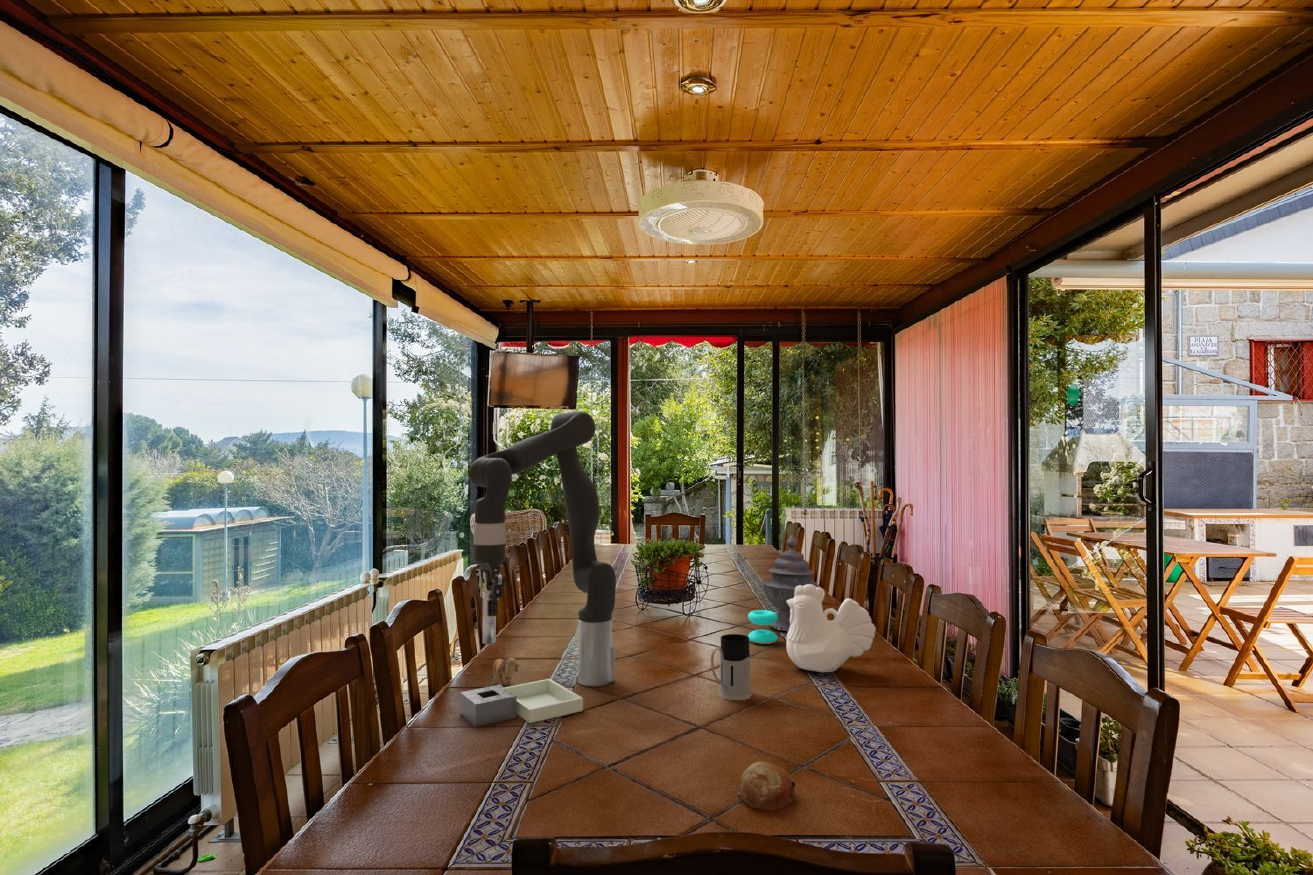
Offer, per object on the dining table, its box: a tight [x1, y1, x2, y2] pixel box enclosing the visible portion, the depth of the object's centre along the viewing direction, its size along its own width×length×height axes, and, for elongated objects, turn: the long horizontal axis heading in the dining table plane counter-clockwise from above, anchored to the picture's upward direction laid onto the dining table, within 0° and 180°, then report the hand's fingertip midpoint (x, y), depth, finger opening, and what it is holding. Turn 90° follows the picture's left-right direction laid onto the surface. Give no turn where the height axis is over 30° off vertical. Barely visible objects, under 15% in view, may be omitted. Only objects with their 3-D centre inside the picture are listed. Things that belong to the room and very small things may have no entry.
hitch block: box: [459, 684, 518, 728], centre depth 165 cm, size 10×10×6 cm
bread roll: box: [737, 761, 796, 811], centre depth 128 cm, size 10×10×8 cm
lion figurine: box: [490, 657, 522, 687], centre depth 189 cm, size 15×5×9 cm, turn 37°
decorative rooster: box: [785, 584, 876, 674], centre depth 204 cm, size 25×16×25 cm, turn 65°
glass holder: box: [710, 633, 753, 701], centre depth 181 cm, size 9×14×15 cm, turn 137°
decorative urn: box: [762, 533, 820, 630], centre depth 256 cm, size 20×20×35 cm
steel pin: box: [482, 583, 497, 645], centre depth 166 cm, size 3×3×14 cm
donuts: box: [747, 609, 779, 643], centre depth 236 cm, size 10×10×10 cm
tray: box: [504, 678, 584, 724], centre depth 172 cm, size 14×18×4 cm
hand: (489, 614), depth 166 cm, fingers closed on steel pin, 3 cm apart
